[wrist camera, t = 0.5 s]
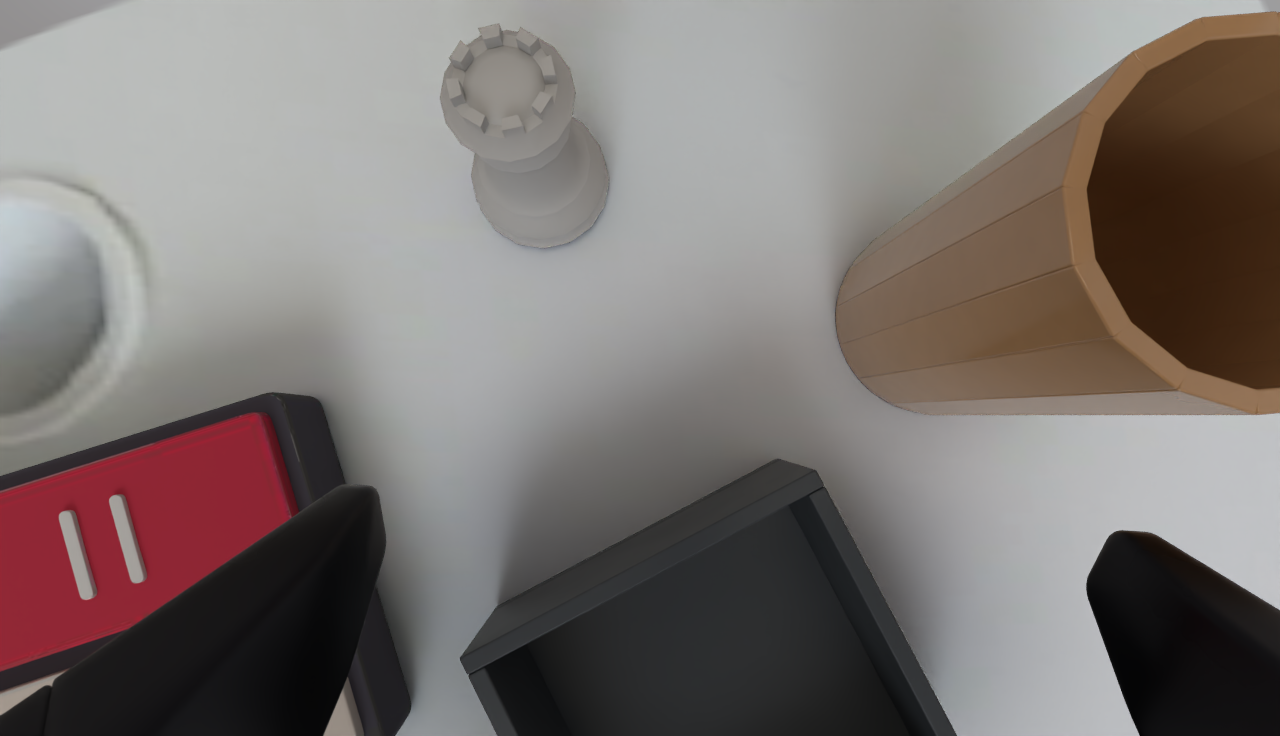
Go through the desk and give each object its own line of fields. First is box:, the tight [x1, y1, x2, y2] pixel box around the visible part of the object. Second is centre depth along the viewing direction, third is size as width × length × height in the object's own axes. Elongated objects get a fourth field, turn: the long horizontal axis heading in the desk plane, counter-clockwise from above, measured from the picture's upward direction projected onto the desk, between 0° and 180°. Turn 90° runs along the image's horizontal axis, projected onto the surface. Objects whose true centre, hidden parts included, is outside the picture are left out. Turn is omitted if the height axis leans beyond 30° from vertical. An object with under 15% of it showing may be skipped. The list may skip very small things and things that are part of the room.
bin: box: [460, 459, 957, 736], centre depth 21 cm, size 10×10×5 cm
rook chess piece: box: [440, 24, 609, 248], centre depth 20 cm, size 4×4×8 cm
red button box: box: [0, 392, 411, 736], centre depth 22 cm, size 11×4×15 cm
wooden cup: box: [836, 12, 1280, 415], centre depth 18 cm, size 6×6×13 cm
